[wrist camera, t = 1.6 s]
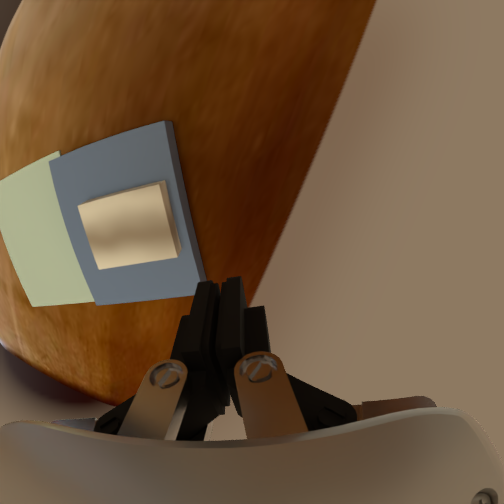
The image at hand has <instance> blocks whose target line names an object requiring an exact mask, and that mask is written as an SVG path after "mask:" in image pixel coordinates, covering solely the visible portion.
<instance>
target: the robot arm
mask: <svg viewBox="0 0 504 504" xmlns="http://www.w3.org/2000/svg"><path fill="white" fill-rule="evenodd" d="M230 395H231V397H232V400H233V403H234V405H235V408H236V411H237V413H238V415H240V416H241V417H242V418H243V421H244V426H245V431H246V435H247V439H244V440H225V441H210V438H211V434H212V430H213V420H214V419H215V418H216V417H217V416H219V415H223V414H225V406H230ZM0 504H504V464H503V462H502V460H501V458H500V456H499V454H498V452H497V450H496V448H495V446H494V445H493V443H492V441H491V440H490V438H489V436H488V435H487V433H486V432H485V431H484V429H483V428H482V427H481V425H480V424H479V423H478V422H477V421H476V419H474V418H473V417H472V416H471V415H470V414H468V413H466V412H465V411H462V410H459V409H454V408H445V407H437V406H436V404H435V402H433V401H432V400H431V399H430V398H427V397H424V396H414V397H407V398H399V399H391V400H379V401H367V402H362V404H361V405H351V404H349V403H348V402H346V401H344V400H342V399H340V398H337V397H335V396H333V395H331V394H328V393H326V392H324V391H322V390H320V389H318V388H315V387H313V386H311V385H309V384H307V383H305V382H303V381H301V380H299V379H297V378H295V377H293V376H291V375H289V374H287V373H286V371H285V369H284V366H283V363H282V361H281V360H280V358H279V357H277V356H276V355H275V354H272V353H271V350H270V342H269V334H268V327H267V321H266V314H265V309H264V306H258V307H251V308H247V304H246V299H245V294H244V288H243V283H242V279H241V276H238V277H231V278H227V282H222V287H221V293H220V289H219V285H218V283H214V284H213V281H212V280H210V281H203V282H198V284H197V288H196V291H195V295H194V299H193V303H192V307H191V311H190V315H185V316H182V318H181V320H180V324H179V327H178V331H177V335H176V338H175V342H174V346H173V350H172V353H171V357H170V360H164V361H160V362H158V363H156V364H154V365H153V366H152V367H151V368H150V369H149V370H148V372H147V373H146V375H145V377H144V379H143V381H142V383H141V385H140V387H139V389H138V392H137V394H135V395H134V396H132V397H131V398H129V399H128V400H126V401H125V402H123V403H121V404H120V405H118V406H117V407H115V408H114V409H112V410H110V411H109V412H107V413H106V414H104V415H103V416H102V417H100V418H99V420H97V419H96V418H83V419H65V420H55V421H53V422H51V423H48V422H43V421H34V420H21V421H15V422H11V423H8V424H5V425H3V426H2V427H1V428H0Z"/></svg>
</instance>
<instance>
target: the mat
mask: <svg viewBox="0 0 504 504" xmlns="http://www.w3.org/2000/svg"><path fill="white" fill-rule="evenodd" d="M60 156H61V151H60V150H59V151H57V152H54V153H52V154H50V155H48V156H46V157H44V158H42V159H40V160H38V161H36V162H34V163H32V164H30V165H28V166H26V167H24V168H22V169H20V170H19V171H17V172H15V173H13V174H11V175H10V176H8V177H6V178H4V179H3V180H1V181H0V230H1V233H2V236H3V239H4V242H5V244H6V247H7V250H8V253H9V255H10V258H11V260H12V263H13V265H14V268H15V270H16V272H17V275H18V277H19V279H20V282H21V284H22V286H23V288H24V290H25V292H26V294H27V297H28V299H29V301H30V303H31V305H32V307H36V306H49V305H61V304H72V303H83V302H94V299H93V296H92V294H91V292H90V290H89V287H88V285H87V283H86V280H85V278H84V275H83V273H82V270H81V268H80V265H79V263H78V260H77V258H76V255H75V252H74V250H73V247H72V244H71V241H70V238H69V235H68V232H67V229H66V226H65V223H64V220H63V217H62V213H61V210H60V206H59V203H58V199H57V196H56V192H55V188H54V184H53V180H52V175H51V171H50V167H49V161H51V160H53V159H55V158H57V157H60Z"/></svg>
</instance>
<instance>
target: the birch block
mask: <svg viewBox="0 0 504 504" xmlns="http://www.w3.org/2000/svg"><path fill="white" fill-rule="evenodd" d="M78 209H79V213H80V216H81V219H82V223H83V226H84V229H85V232H86V235H87V238H88V241H89V244H90V247H91V250H92V252H93V255H94V258H95V261H96V263H97V266H98V269H99V270H101V269H107V268H113V267H119V266H126V265H132V264H138V263H145V262H151V261H158V260H164V259H170V258H177V257H178V256H179V253H180V251H181V249H182V248H181V244H180V240H179V236H178V232H177V228H176V224H175V220H174V216H173V212H172V208H171V204H170V200H169V195H168V191H167V186H166V182H165V180H163V181H159V182H155V183H150V184H146V185H142V186H138V187H134V188H130V189H126V190H122V191H119V192H115V193H111V194H108V195H104V196H101V197H97V198H94V199H90V200H87V201H85V202H83V203H82V204H80V205H78Z"/></svg>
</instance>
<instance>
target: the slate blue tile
mask: <svg viewBox="0 0 504 504" xmlns="http://www.w3.org/2000/svg"><path fill="white" fill-rule="evenodd" d="M49 167H50V171H51V175H52V180H53V184H54V188H55V192H56V196H57V199H58V203H59V206H60V210H61V213H62V217H63V220H64V223H65V226H66V229H67V232H68V235H69V238H70V241H71V244H72V247H73V250H74V252H75V255H76V258H77V260H78V263H79V265H80V268H81V270H82V273H83V275H84V278H85V280H86V283H87V285H88V287H89V290H90V292H91V294H92V296H93V299H94V301H95V303H96V305H107V304H117V303H128V302H137V301H147V300H156V299H165V298H173V297H182V296H190V295H195V291H196V288H197V284H198V282H203V281H206V280H207V279H206V275H205V272H204V268H203V264H202V260H201V256H200V252H199V247H198V243H197V239H196V235H195V231H194V226H193V222H192V218H191V213H190V209H189V204H188V200H187V195H186V190H185V186H184V181H183V176H182V171H181V166H180V161H179V156H178V151H177V146H176V140H175V135H174V129H173V124H172V121H161V122H157V123H153V124H150V125H146V126H143V127H139V128H136V129H133V130H130V131H126V132H123V133H120V134H117V135H114V136H111V137H108V138H105V139H103V140H100V141H97V142H94V143H92V144H89V145H86V146H84V147H81V148H79V149H76V150H74V151H71V152H69V153H67V154H64V155H62V156H60V157H57V158H55V159H53V160H51V161H49ZM163 180H165V182H166V186H167V191H168V195H169V200H170V204H171V208H172V212H173V216H174V220H175V224H176V228H177V232H178V236H179V240H180V244H181V248H182V249H181V251H180V253H179V256H178V257H177V258H170V259H164V260H158V261H151V262H145V263H138V264H132V265H126V266H119V267H113V268H107V269H101V270H99V269H98V266H97V263H96V261H95V258H94V255H93V252H92V250H91V247H90V244H89V241H88V238H87V235H86V232H85V229H84V226H83V223H82V219H81V216H80V213H79V209H78V205H80V204H82V203H83V202H85V201H87V200H90V199H94V198H97V197H101V196H104V195H108V194H111V193H115V192H119V191H122V190H126V189H130V188H134V187H138V186H142V185H146V184H150V183H155V182H159V181H163Z"/></svg>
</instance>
